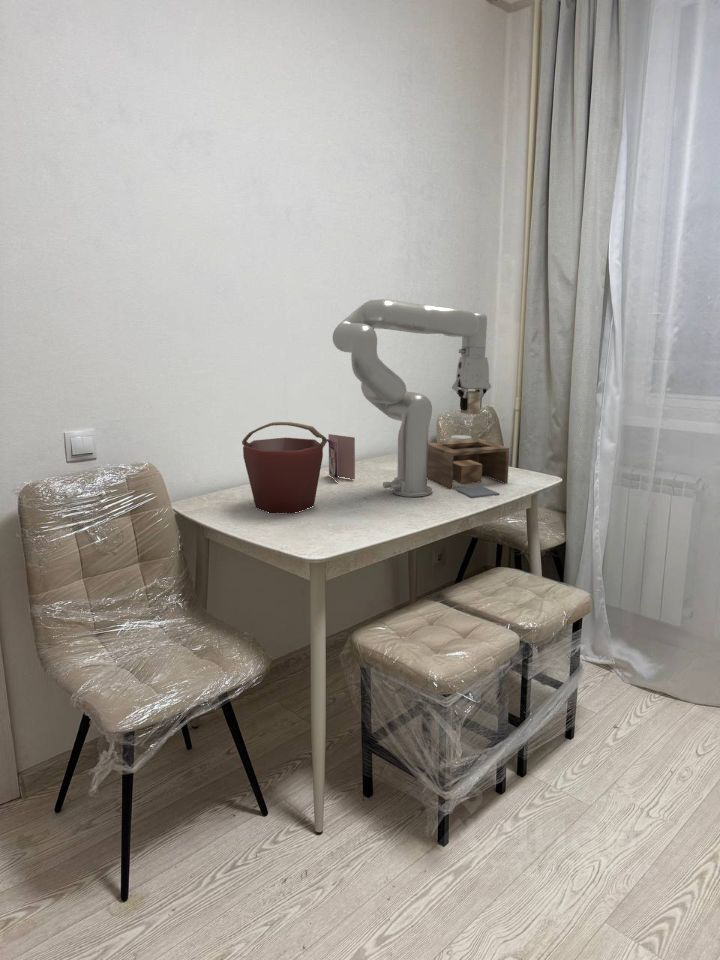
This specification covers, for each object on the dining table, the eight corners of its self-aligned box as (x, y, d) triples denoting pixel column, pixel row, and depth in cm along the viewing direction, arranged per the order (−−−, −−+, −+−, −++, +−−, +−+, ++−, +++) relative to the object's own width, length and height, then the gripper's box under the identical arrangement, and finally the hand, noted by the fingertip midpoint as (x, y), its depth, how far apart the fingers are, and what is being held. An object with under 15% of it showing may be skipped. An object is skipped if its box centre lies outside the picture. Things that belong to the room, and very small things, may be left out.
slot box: (449, 489, 216) (450, 452, 213) (424, 477, 232) (425, 443, 229) (507, 483, 224) (509, 448, 221) (479, 471, 240) (480, 439, 237)
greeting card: (326, 476, 234) (326, 434, 230) (346, 474, 236) (346, 433, 232) (335, 483, 223) (335, 439, 219) (356, 482, 225) (356, 438, 222)
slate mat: (471, 498, 205) (471, 496, 205) (455, 490, 214) (455, 488, 214) (499, 494, 209) (499, 493, 209) (482, 487, 218) (482, 486, 218)
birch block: (468, 414, 215) (469, 392, 213) (460, 412, 219) (461, 391, 217) (479, 413, 217) (481, 392, 215) (472, 412, 221) (473, 390, 219)
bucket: (338, 501, 202) (337, 419, 196) (305, 521, 182) (303, 431, 176) (267, 493, 211) (264, 415, 205) (228, 512, 191) (224, 425, 185)
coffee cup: (444, 467, 247) (445, 435, 245) (465, 465, 250) (466, 434, 247) (454, 472, 240) (455, 439, 237) (475, 470, 242) (477, 438, 239)
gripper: (457, 353, 207) (454, 412, 211) (502, 353, 213) (498, 410, 217) (444, 352, 213) (442, 409, 217) (488, 352, 220) (485, 407, 224)
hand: (470, 409), depth 217 cm, fingers closed on birch block, 4 cm apart
